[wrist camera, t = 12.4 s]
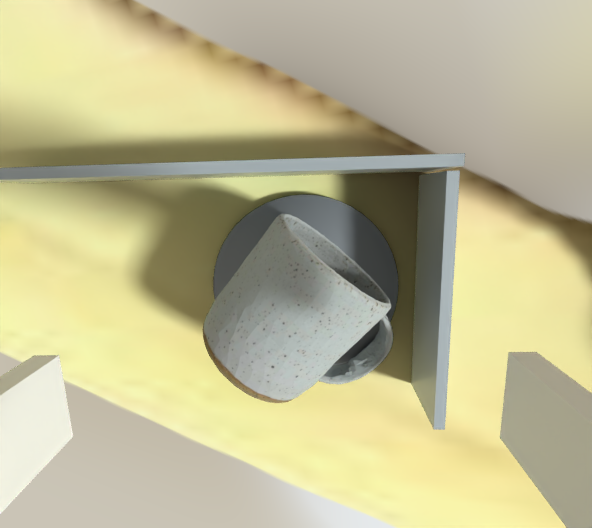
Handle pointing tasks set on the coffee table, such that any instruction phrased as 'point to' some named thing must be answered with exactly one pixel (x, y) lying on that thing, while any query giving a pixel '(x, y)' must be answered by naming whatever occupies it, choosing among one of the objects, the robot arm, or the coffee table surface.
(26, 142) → the coffee table surface
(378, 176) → the coffee table surface
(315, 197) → the slate coaster
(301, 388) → the ceramic mug
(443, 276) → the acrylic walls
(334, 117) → the coffee table surface
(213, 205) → the coffee table surface
